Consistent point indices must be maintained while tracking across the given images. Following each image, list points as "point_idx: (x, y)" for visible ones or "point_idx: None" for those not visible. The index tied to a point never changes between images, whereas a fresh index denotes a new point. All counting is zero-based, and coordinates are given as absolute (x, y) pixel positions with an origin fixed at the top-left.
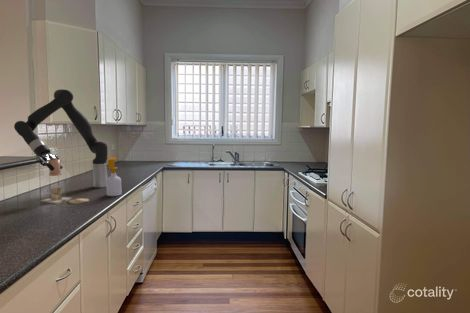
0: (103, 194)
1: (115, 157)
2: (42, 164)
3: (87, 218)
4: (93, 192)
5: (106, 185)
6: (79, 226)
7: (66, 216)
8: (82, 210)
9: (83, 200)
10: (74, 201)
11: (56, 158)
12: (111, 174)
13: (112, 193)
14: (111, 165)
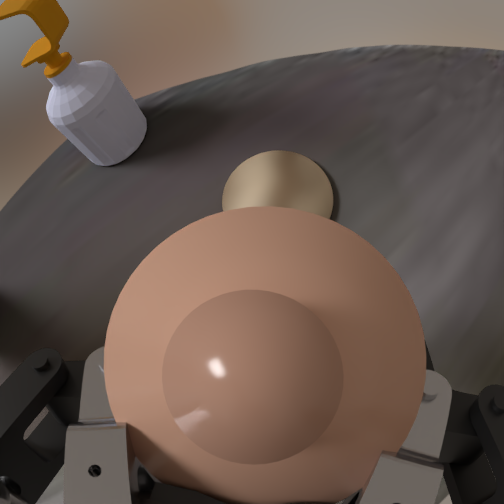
0: (110, 186)
1: (5, 2)
2: (481, 458)
3: (450, 52)
4: (72, 268)
5: (104, 128)
6: (493, 50)
7: (474, 109)
8: (401, 96)
9: (269, 175)
10: (302, 205)
11: (226, 294)
12: (71, 69)
13: (141, 115)
14: (56, 19)
